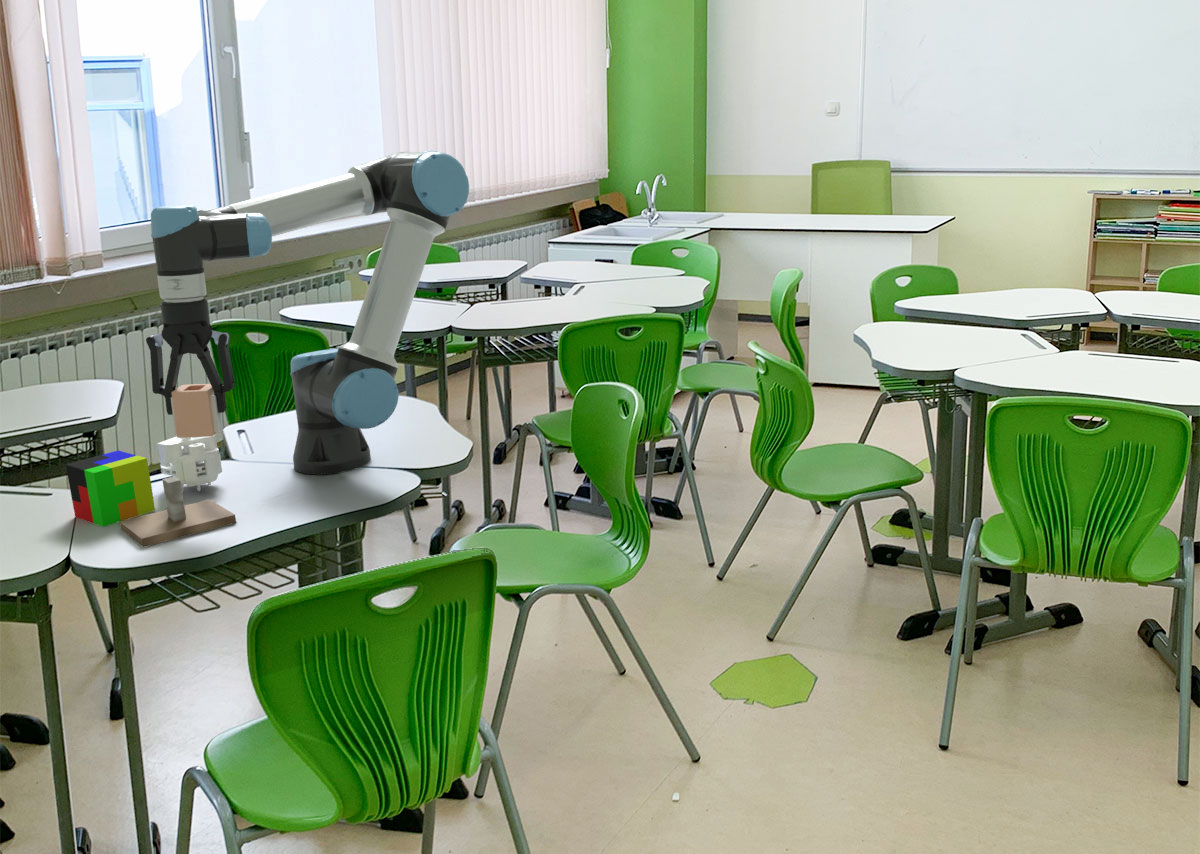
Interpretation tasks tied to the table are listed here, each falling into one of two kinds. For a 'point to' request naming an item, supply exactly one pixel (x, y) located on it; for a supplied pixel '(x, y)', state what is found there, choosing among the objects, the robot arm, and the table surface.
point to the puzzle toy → (110, 488)
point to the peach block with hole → (193, 410)
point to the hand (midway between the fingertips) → (199, 431)
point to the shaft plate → (180, 528)
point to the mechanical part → (190, 460)
